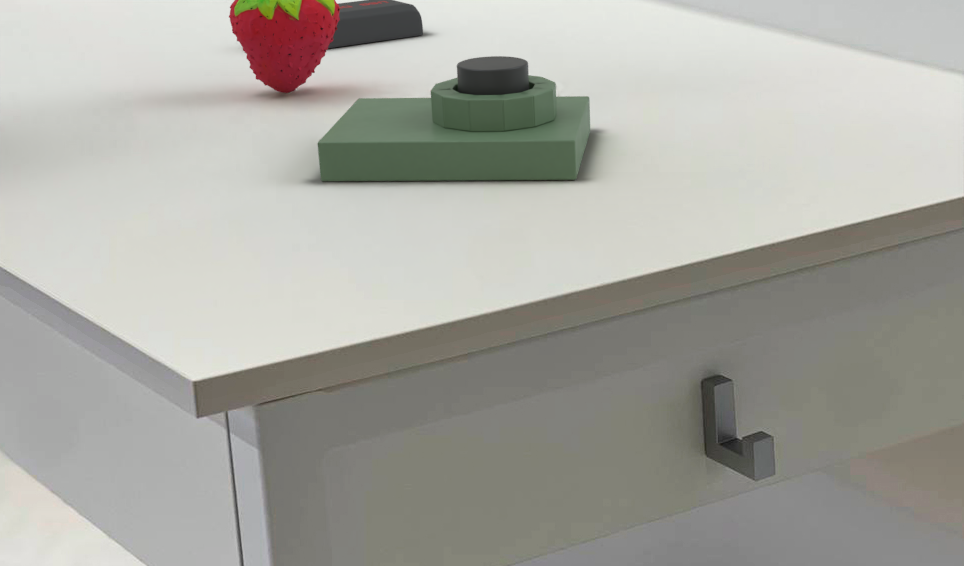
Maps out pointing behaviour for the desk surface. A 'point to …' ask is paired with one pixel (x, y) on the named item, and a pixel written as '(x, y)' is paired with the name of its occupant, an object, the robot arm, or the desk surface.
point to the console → (459, 137)
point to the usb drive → (375, 22)
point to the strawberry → (284, 37)
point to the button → (492, 75)
